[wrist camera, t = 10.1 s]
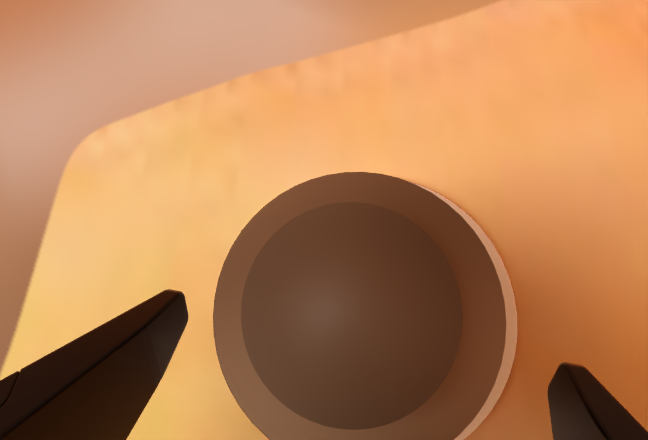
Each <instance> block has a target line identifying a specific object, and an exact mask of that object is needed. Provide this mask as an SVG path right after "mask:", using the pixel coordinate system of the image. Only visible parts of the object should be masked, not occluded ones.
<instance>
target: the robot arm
mask: <svg viewBox="0 0 648 440" xmlns="http://www.w3.org/2000/svg"><path fill="white" fill-rule="evenodd" d="M187 321H188V311H187V306H186V301H185V296H184V294H183V293H182V292H181V291H176V290H170V289H168V290H165V291H163V292H161V293H159V294H157V295H155V296H154V297H152V298H150V299H148V300H146V301H144V302H143V303H141V304H139V305H137V306H135V307H134V308H132V309H130V310H128V311H126V312H124V313H123V314H121V315H119V316H117V317H115V318H114V319H112V320H110V321H108V322H106V323H104V324H103V325H101V326H99V327H97V328H95V329H93V330H92V331H90V332H88V333H86V334H84V335H83V336H81V337H79V338H77V339H75V340H73V341H72V342H70V343H68V344H66V345H64V346H63V347H61V348H59V349H57V350H55V351H53V352H52V353H50V354H48V355H46V356H44V357H43V358H41V359H39V360H37V361H35V362H33V363H32V364H30V365H28V366H26V367H24V368H22V369H21V371H20V372H19V371H17V372H15V373H13V374H11V375H10V376H8V377H6V378H4V379H2V380H0V440H126V439H127V437H128V436H129V434H130V432H131V430H132V429H133V427H134V425H135V424H136V422H137V420H138V418H139V417H140V415H141V413H142V412H143V410H144V408H145V407H146V405H147V403H148V401H149V400H150V398H151V396H152V395H153V393H154V391H155V389H156V388H157V386H158V384H159V382H160V381H161V379H162V377H163V375H164V373H165V371H166V369H167V366H168V364H169V362H170V360H171V358H172V355H173V353H174V351H175V349H176V347H177V344H178V342H179V340H180V338H181V336H182V333H183V331H184V329H185V327H186V324H187ZM548 401H549V409H550V417H551V424H552V432H553V440H648V432H647V431H646V430H645V429H644V428H643V427H642V426H641V425H640V423H639V422H638V421H637V420H636V419H635V418H634V417H633V416H632V415H631V414H630V413H629V412H628V411H627V410H626V409H625V408H624V407H623V406H622V405H621V404H620V403H619V402H618V401H617V400H616V399H615V398H614V397H613V396H612V395H611V394H610V392H609V391H608V390H607V389H606V388H605V387H604V386H603V385H602V384H601V383H600V382H599V381H598V380H597V379H596V378H595V377H594V376H593V375H592V374H591V373H590V372H589V371H588V370H587V369H586V368H585V367H583V366H581V365H577V364H572V363H566V362H564V363H561V364H560V365H559V367H558V369H557V371H556V373H555V375H554V376H553V378H552V380H551V382H550V384H549V387H548Z"/></svg>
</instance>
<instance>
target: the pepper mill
mask: <svg viewBox="0 0 648 440" xmlns="http://www.w3.org/2000/svg"><path fill="white" fill-rule="evenodd" d="M213 326H214V339H215V345H216V351H217V356H218V359H219V363H220V366H221V370H222V373H223V375H224V377H225V380H226V382H227V384H228V387H229V389H230V391H231V393H232V394H233V396H234V398H235V399H236V401H237V403H238V405H239V406H240V408H241V409H242V410H243V412H244V413H245V414H246V415H247V417H248V418H249V419H250V421H251V422H252V423H253V424H254V425H255V426H256V427H257V428H258V429H259V430H260V431H261V432H262V433H263V434H264V435H265V436H266V437H267V438H269V439H270V440H454V439H455V438H456V437H458V436H459V435H460V434H461V433H462V432H463V430H464V429H465V428H466V427H467V426H468V425H469V424H470V423H471V422H472V421H473V420H474V418H475V417H476V415H477V414H478V413H479V411H480V410H481V408H482V407H483V405H484V404H485V402H486V400H487V398H488V396H489V394H490V392H491V391H492V389H493V387H494V385H495V382H496V379H497V376H498V373H499V370H500V367H501V364H502V358H503V353H504V348H505V340H506V312H505V302H504V297H503V292H502V288H501V283H500V280H499V277H498V275H497V272H496V269H495V266H494V264H493V262H492V260H491V258H490V256H489V254H488V252H487V250H486V248H485V246H484V244H483V243H482V242H481V240H480V239H479V237H478V236H477V234H476V233H475V231H474V230H473V229H472V228H471V226H470V225H469V224H468V223H467V222H466V221H465V220H464V218H463V217H462V216H461V215H460V214H459V213H457V212H456V211H455V210H454V209H453V208H452V207H451V206H450V205H448V204H447V203H446V202H444V201H443V200H442V199H440V198H439V197H437V196H436V195H434V194H433V193H431V192H429V191H427V190H425V189H423V188H421V187H420V186H418V185H416V184H413V183H410V182H408V181H405V180H402V179H399V178H396V177H392V176H387V175H383V174H377V173H367V172H345V173H338V174H331V175H326V176H322V177H318V178H315V179H311V180H309V181H306V182H304V183H301V184H299V185H297V186H294V187H293V188H291V189H289V190H287V191H285V192H284V193H282V194H280V195H279V196H277V197H276V198H275V199H273V200H272V201H271V202H269V203H268V204H267V205H265V206H264V207H263V208H262V209H261V210H260V211H259V212H258V213H257V214H256V215H255V216H254V217H253V218H252V219H251V220H250V221H249V223H248V224H247V225H246V226H245V227H244V229H243V230H242V231H241V233H240V234H239V236H238V237H237V239H236V240H235V242H234V244H233V245H232V247H231V249H230V251H229V253H228V255H227V257H226V260H225V262H224V264H223V267H222V270H221V273H220V276H219V279H218V284H217V289H216V293H215V300H214V311H213Z"/></svg>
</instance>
